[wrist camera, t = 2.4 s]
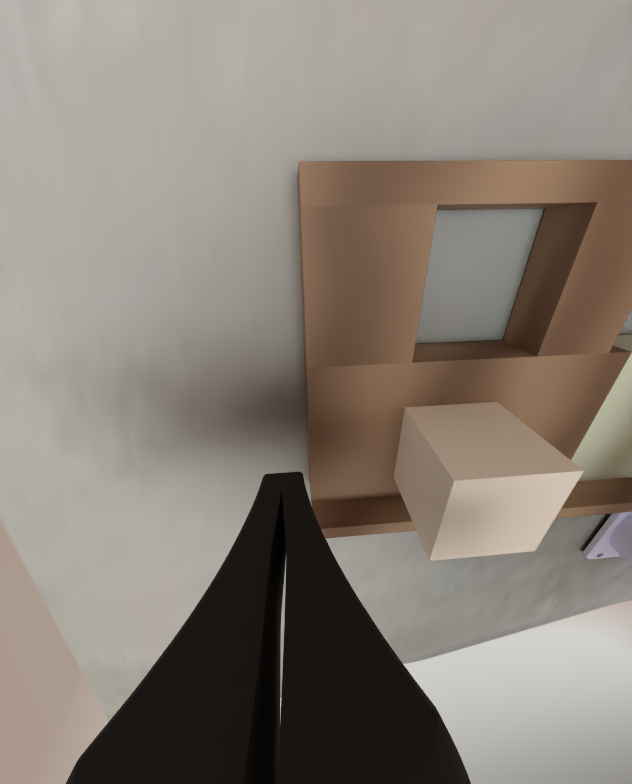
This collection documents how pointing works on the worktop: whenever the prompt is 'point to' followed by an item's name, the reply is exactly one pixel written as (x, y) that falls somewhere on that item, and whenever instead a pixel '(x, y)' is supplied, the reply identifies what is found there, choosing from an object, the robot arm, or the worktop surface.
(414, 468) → the cream block
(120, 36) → the worktop surface
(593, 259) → the trap deck
